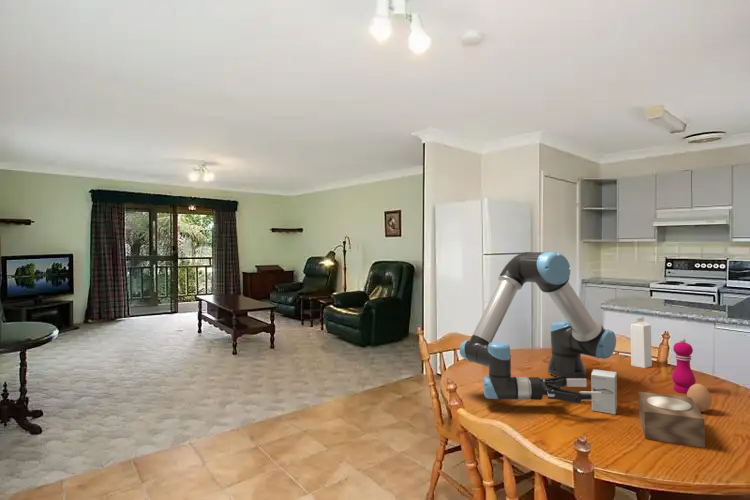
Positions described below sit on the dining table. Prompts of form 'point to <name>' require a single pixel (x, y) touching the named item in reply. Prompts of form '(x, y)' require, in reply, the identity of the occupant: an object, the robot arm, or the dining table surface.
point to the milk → (641, 344)
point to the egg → (700, 397)
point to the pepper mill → (683, 367)
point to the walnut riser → (671, 419)
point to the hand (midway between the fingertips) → (593, 389)
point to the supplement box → (604, 390)
